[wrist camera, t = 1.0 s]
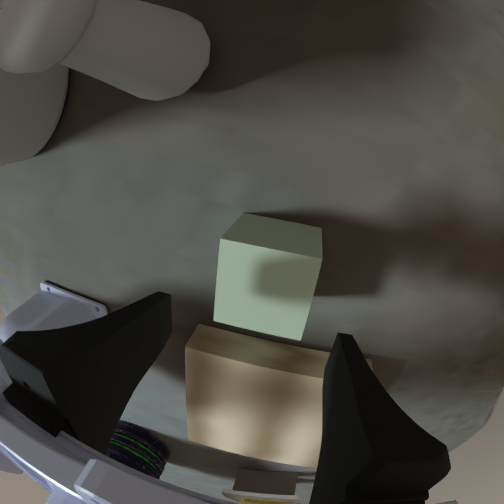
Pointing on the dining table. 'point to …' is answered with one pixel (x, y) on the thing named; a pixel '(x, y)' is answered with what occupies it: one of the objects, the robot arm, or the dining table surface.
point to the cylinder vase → (30, 110)
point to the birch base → (255, 396)
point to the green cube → (267, 275)
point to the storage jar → (138, 449)
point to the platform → (264, 487)
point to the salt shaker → (106, 43)
